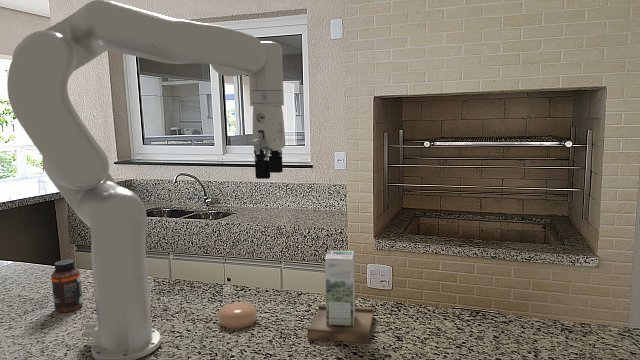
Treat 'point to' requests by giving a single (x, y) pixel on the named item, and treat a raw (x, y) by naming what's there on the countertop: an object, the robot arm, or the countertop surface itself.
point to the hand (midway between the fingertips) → (269, 175)
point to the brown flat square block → (342, 327)
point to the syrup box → (340, 288)
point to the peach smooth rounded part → (237, 315)
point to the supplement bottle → (66, 286)
